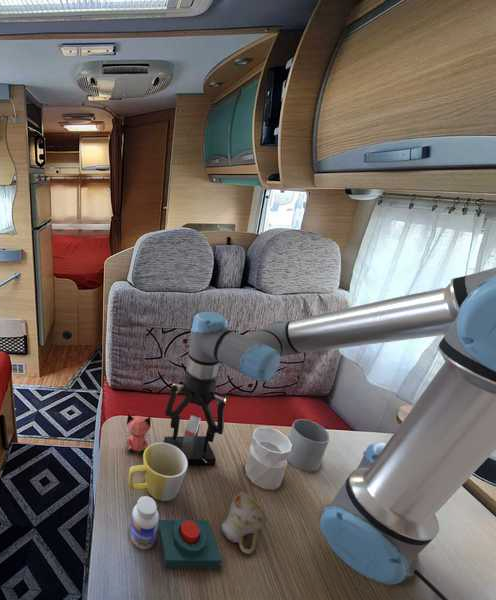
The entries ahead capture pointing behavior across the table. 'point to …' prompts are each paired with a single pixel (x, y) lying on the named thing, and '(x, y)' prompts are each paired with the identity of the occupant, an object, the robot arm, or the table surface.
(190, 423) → the spout
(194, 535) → the button
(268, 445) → the vase
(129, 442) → the pink cat figurine
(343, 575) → the table surface
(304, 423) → the cup
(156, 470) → the mug
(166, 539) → the switch
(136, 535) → the pill bottle
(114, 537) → the table surface
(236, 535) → the mug
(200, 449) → the plate
